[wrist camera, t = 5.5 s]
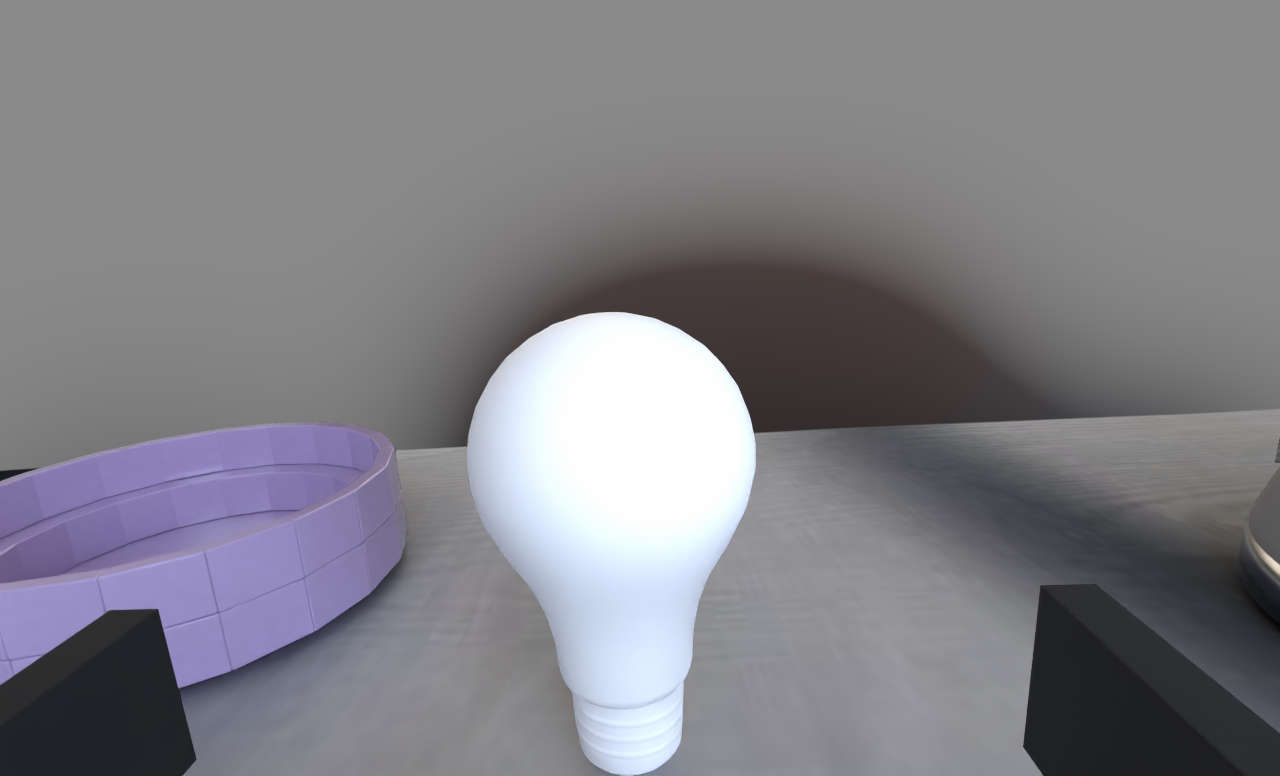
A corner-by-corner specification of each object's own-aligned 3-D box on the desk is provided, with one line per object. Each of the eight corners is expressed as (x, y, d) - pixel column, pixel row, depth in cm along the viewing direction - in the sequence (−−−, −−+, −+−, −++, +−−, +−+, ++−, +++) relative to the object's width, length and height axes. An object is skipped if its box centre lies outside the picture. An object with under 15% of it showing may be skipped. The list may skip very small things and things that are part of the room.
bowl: (481, 530, 29) (470, 434, 28) (93, 811, 15) (42, 643, 14) (247, 494, 34) (230, 413, 33) (-188, 673, 21) (-239, 547, 20)
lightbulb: (683, 941, 12) (655, 344, 9) (450, 801, 15) (381, 330, 12) (794, 722, 17) (796, 297, 14) (602, 652, 20) (576, 296, 17)
